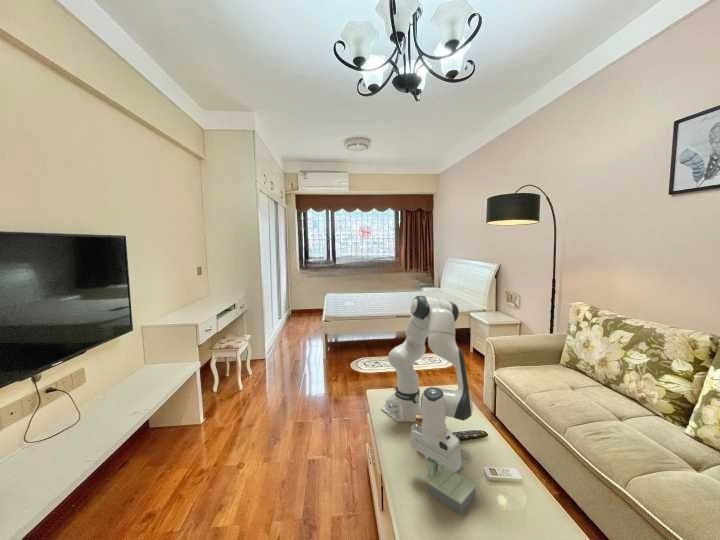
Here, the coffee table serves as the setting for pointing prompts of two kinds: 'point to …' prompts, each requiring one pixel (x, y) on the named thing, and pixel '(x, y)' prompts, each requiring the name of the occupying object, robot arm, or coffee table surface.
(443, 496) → the tub
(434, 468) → the lid
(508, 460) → the coffee table surface
